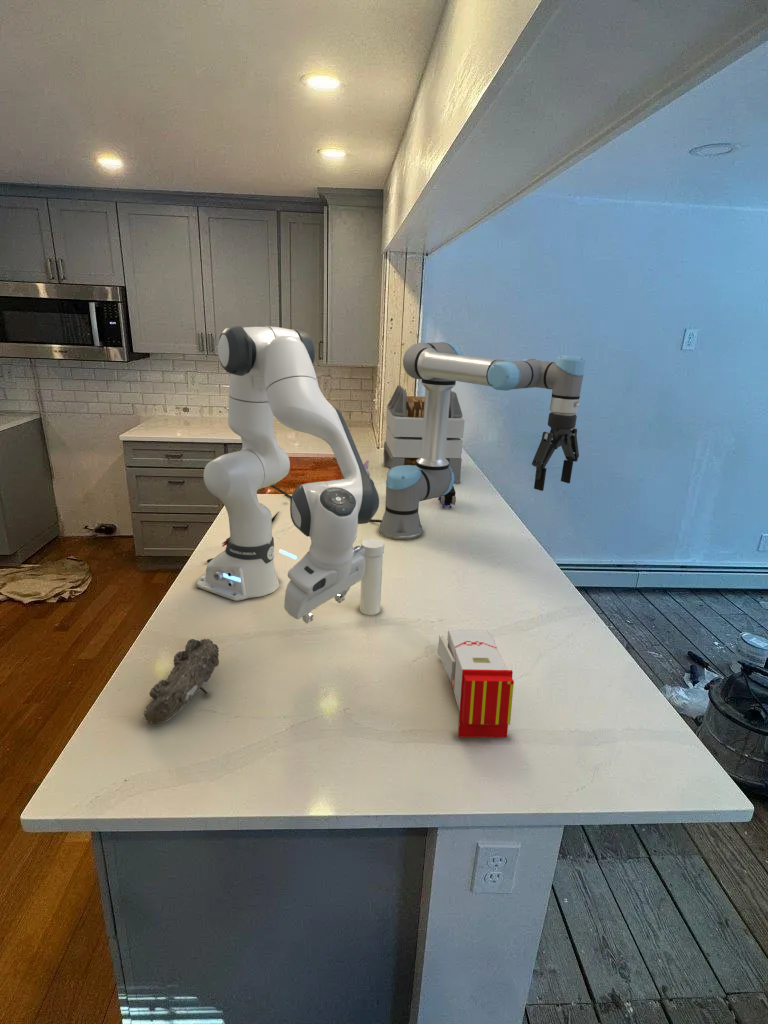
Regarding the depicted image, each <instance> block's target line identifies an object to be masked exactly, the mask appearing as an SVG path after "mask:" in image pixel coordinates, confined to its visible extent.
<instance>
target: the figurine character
mask: <svg viewBox="0 0 768 1024" xmlns="http://www.w3.org/2000/svg"><path fill="white" fill-rule="evenodd" d="M437 500H438V503H439V504H440V505H442V509H445V507H449V509H452V506H454V505H455V506H456V503H457V496H456V490H455V486H454V485H453V487H452V489H451V490H450V491H449V492H448V493H447V494H445V495H443V496H441V497H438V498H437Z"/></svg>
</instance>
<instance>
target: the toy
mask: <svg viewBox="0 0 768 1024" xmlns="http://www.w3.org/2000/svg"><path fill="white" fill-rule="evenodd" d="M446 640H447V643H446V641H445V639H444V636H443V635H442V634H439V637H438V646H437V656H438V657H439V659H440V661H441V663H442V666H443V668H444V670H445V672H446V674H447V677H448V679H449V681H450V684H451V687H452V690H453V693H454V697H455V701H456V705H457V708H458V711H459V714H458V715H459V716H458V730H457V731H458V732H457V737H458V738H508V731H509V726H510V725H511V717H512V707H513V697H514V696H513V695H514V684H515V680H514V679H513V673H514V671H513V670H512V669H508V667H507V665H506V662H505V661H504V659H503V658H502V655H501V653H500V651H499V649H498V647H497V643H496V639H495V637H494V635H493V634H491V632H490V631H489V629H467V628H466V629H465V628H463V629H461V628H460V629H459V628H448V630H447V639H446Z"/></svg>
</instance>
